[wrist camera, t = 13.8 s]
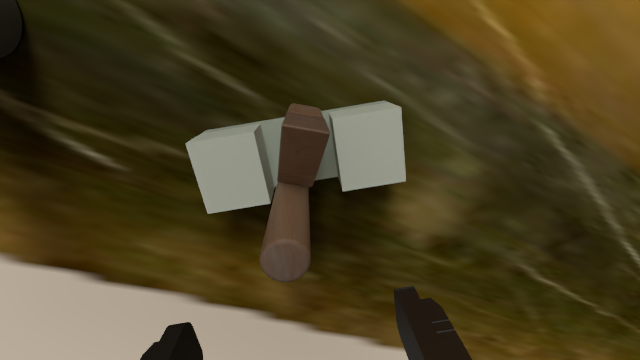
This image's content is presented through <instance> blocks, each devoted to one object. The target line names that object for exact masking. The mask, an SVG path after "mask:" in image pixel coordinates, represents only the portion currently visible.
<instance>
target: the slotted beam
mask: <svg viewBox="0 0 640 360" xmlns="http://www.w3.org/2000/svg"><path fill="white" fill-rule="evenodd" d="M321 113H322V115H323V118H325V121H326V123H327V126H328V128H329V131H330V136H329V139H328V142H327V145H326V148H325V151H324V154H323V157H322V160H321V163H320V166H319V169H318V172H317V175H316V178H315V180H321V179H327V178H333V177H338V178H339V181H340V185H341V188H342V191H343V192H344V191H350V190H356V189H362V188H368V187H374V186H380V185H386V184H392V183H398V182H404V181H406V173H405V158H404V143H403V128H402V113H401V107H399V106H397V105H394V104H392V103H389V102H387V101H379V102H373V103H367V104H361V105H355V106H349V107H343V108H337V109H331V110H325V111H321ZM284 118H285V117H283V118H277V119H271V120H265V121H259V122H253V123H247V124H242V125H236V126H230V127H224V128H218V129H212V130H206V131H204V132H203V133H201V134H200V135H198V136H196V137H195V138H193V139H192V140H190V141H188V142H187V143H185V144H186V147H187V150H188V153H189V156H190V159H191V163H192V166H193V169H194V172H195V175H196V178H197V182H198V185H199V188H200V191H201V194H202V197H203V201H204V204H205V207H206V210H207V213H208V214H210V213H216V212H222V211H228V210H234V209H241V208H247V207H253V206H259V205H265V204H271V200H272V196H273V192H274V188H275V187H276V186H277V183H278V181H277V176H278V163H279V150H280V138H281V126H282V123H283V121H284Z"/></svg>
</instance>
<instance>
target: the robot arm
mask: <svg viewBox="0 0 640 360" xmlns="http://www.w3.org/2000/svg"><path fill="white" fill-rule="evenodd" d="M21 34H22V18H21V14H20V10H19V8H18V5H17V3H16V1H15V0H0V58H1V57H5V56H6V55H8V54H10V53H11V52H12V51H13V50H14V49H15V48H16V47H17V45H18V43H19V41H20V39H21ZM394 299H395V310H396V320H397V326H398V330H399V334H400V337H401V340H402V343H403V345H404V348H405V351H406V354H407V356H408V359H409V360H472V359H471V357H470V355H469V353H468V352H467V350H466V348H465V346H464V345H463V343H462V341H461V340H460V338H459V336H458V334H457V333H456V331H455V330H454V327H453V326H452V324H451V322H450V321H449V319H448V317H447V315H446V314H445V312H444V310H443V308H442V307H441V306H440V305H439V304H437V303H436V302H435V301H434V300H433V299H431V298H426V299H420V298H419V296H418V294H417V292H416V290H415V288H414V287H413V286H410V287H404V288H398V289H394ZM140 360H203V353H202V349H201V347H200V344H199V341H198V339H197V336H196V334H195V331H194V329H193V326H192V324H191V323H189V322H186V323H180V324H175V325H169V326H168V327H167V328H166V330H165V332H164V334H163V335H162V337H161V339H160V341H159V342H154V343H153V345H152V346H151V347H150V348H149V349H148V350H147V351H146V352H145V353H144V354H143V355H142V357H141V359H140Z"/></svg>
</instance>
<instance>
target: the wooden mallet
mask: <svg viewBox="0 0 640 360" xmlns="http://www.w3.org/2000/svg"><path fill="white" fill-rule="evenodd" d="M329 136H330V131H329V128H328V126H327V123H326V121H325V118H323V115H322V113H321V110H320V109H319V108H316V107H311V106H305V105H299V104H294V103H293V104H290V106H289V109H288V111H287V113H286V116H285V118H284V121H283V123H282V126H281V138H280V150H279V163H278V176H277V181H278V183H277V186H276V190H275V194H274V199H273V203H272V207H271V211H270V215H269V219H268V223H267V228H266V232H265V236H264V240H263V244H262V248H261V253H260V265H261V267H262V269H263V271H264V272H265V273H266V274H267V276H268V277H270V278H272V279H274V280H276V281H280V282H290V281H294V280H297V279H298V278H300V277H302V276H303V275H304V273H305V272H306V271H307V270H308V268H309V266H310V263H311V252H310V220H309V187H312V186H313V184H314V181H315V178H316V175H317V172H318V169H319V166H320V163H321V160H322V157H323V154H324V151H325V148H326V145H327V142H328V139H329Z"/></svg>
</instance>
